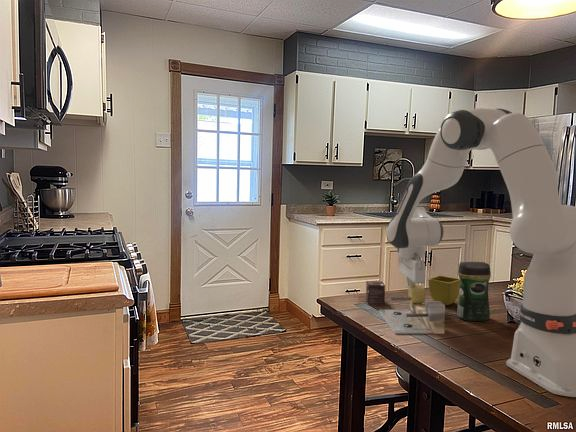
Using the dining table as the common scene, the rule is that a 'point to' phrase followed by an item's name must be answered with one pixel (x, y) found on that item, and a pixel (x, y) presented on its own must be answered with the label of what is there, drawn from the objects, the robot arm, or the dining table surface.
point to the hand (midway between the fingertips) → (410, 289)
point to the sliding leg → (414, 295)
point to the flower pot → (444, 289)
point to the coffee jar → (473, 291)
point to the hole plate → (403, 322)
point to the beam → (430, 315)
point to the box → (375, 292)
